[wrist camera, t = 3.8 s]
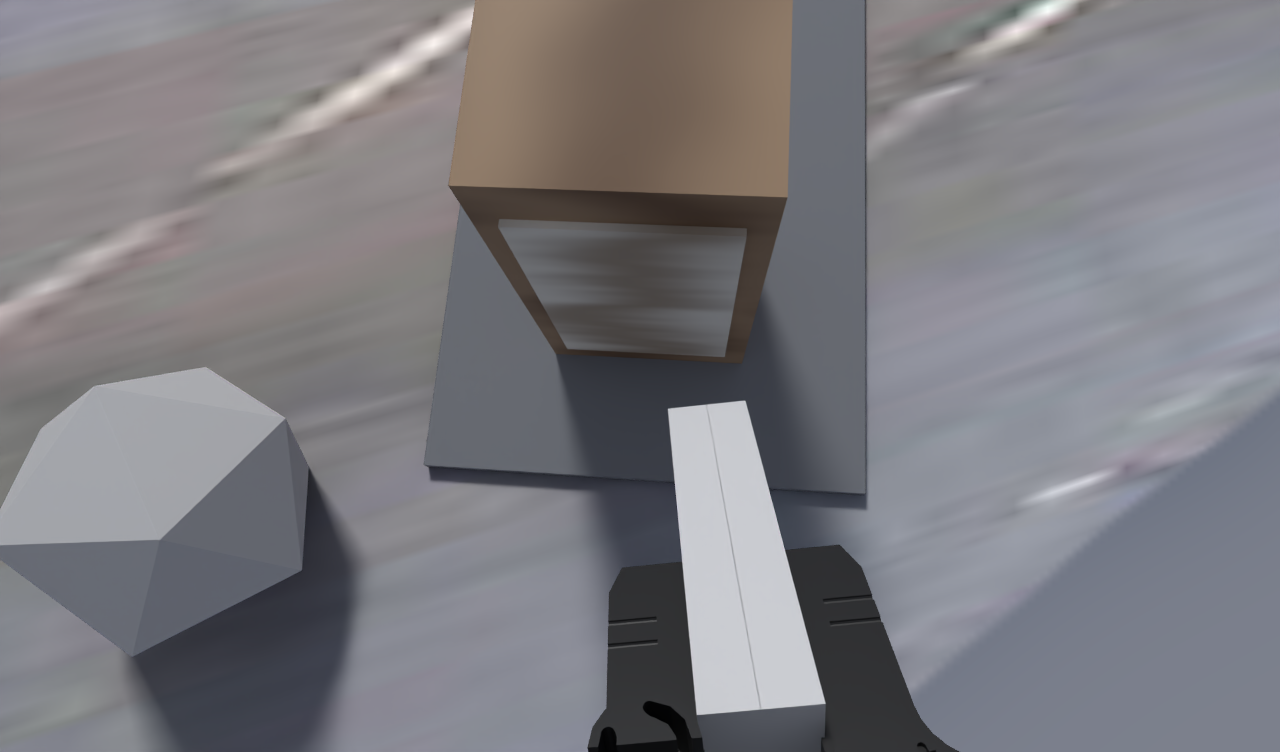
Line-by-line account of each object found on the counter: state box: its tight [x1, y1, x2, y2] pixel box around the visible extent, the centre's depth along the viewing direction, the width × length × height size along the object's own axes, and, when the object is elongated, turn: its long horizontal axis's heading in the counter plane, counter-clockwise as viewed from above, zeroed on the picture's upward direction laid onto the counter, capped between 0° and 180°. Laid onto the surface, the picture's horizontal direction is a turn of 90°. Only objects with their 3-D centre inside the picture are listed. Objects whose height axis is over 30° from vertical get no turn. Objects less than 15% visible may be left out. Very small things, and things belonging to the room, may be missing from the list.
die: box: [0, 367, 309, 657], centre depth 24 cm, size 8×9×10 cm
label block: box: [448, 0, 793, 364], centre depth 22 cm, size 7×5×13 cm
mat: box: [424, 0, 866, 495], centre depth 30 cm, size 16×24×1 cm, turn 176°
